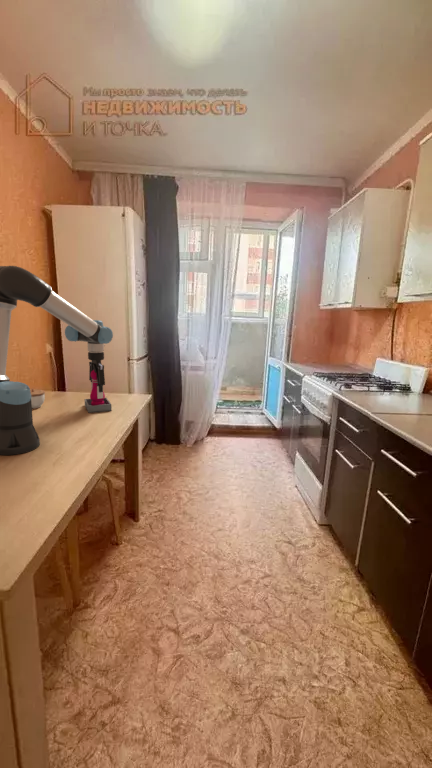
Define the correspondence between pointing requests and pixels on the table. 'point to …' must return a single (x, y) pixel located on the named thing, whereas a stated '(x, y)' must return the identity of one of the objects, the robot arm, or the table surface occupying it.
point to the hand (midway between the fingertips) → (97, 396)
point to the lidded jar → (37, 398)
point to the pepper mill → (95, 391)
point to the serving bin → (97, 406)
